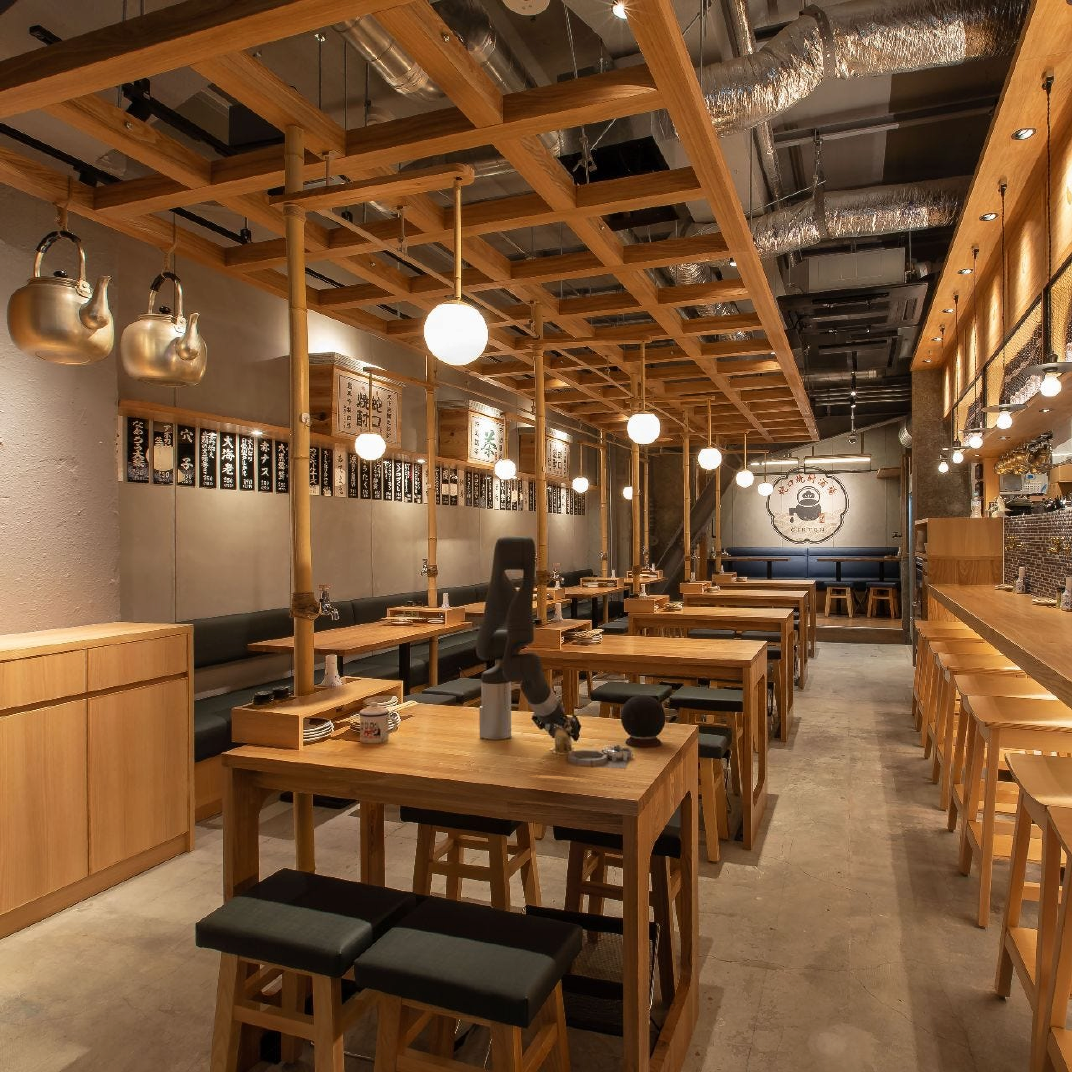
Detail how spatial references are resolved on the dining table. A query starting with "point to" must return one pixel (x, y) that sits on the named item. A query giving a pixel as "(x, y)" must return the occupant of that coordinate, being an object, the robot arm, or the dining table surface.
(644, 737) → the black ball on stand
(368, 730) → the teacup with lid
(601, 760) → the gear board
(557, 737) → the gear hub
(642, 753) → the dining table surface
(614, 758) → the gear
